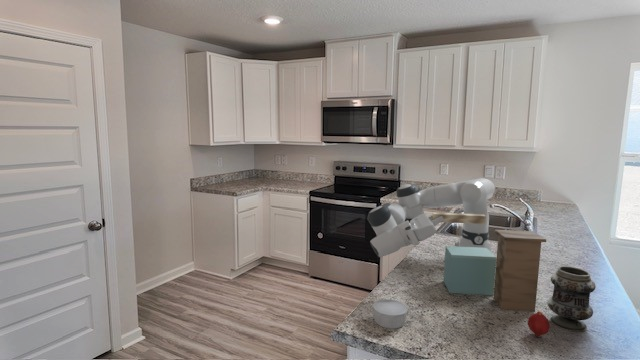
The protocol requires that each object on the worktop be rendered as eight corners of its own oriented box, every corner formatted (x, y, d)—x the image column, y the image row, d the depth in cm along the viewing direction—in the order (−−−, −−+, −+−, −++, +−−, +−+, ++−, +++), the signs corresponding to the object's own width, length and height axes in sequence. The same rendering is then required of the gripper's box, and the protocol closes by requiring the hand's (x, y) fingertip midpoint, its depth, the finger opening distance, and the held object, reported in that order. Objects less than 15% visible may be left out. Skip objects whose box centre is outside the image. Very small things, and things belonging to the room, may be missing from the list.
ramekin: (394, 310, 125) (395, 296, 124) (414, 327, 114) (415, 311, 114) (365, 316, 121) (366, 301, 120) (383, 334, 110) (384, 317, 110)
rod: (433, 221, 140) (433, 214, 140) (432, 219, 143) (432, 212, 143) (485, 223, 137) (485, 216, 137) (482, 221, 140) (483, 214, 140)
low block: (443, 281, 150) (445, 245, 148) (484, 283, 148) (486, 247, 146) (449, 292, 139) (451, 254, 137) (493, 295, 137) (496, 257, 135)
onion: (528, 328, 114) (530, 304, 113) (550, 335, 110) (552, 310, 109) (525, 336, 110) (527, 311, 108) (547, 343, 106) (549, 317, 105)
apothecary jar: (593, 323, 118) (599, 270, 115) (588, 338, 109) (595, 281, 106) (549, 310, 126) (554, 260, 123) (542, 324, 117) (547, 270, 114)
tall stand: (489, 297, 135) (494, 229, 132) (526, 299, 134) (532, 231, 130) (499, 310, 125) (504, 237, 122) (539, 313, 124) (546, 239, 120)
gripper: (410, 231, 154) (440, 217, 151) (416, 246, 134) (451, 230, 131) (403, 218, 153) (433, 203, 151) (408, 232, 133) (443, 215, 131)
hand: (441, 216), depth 141 cm, fingers closed on rod, 3 cm apart
